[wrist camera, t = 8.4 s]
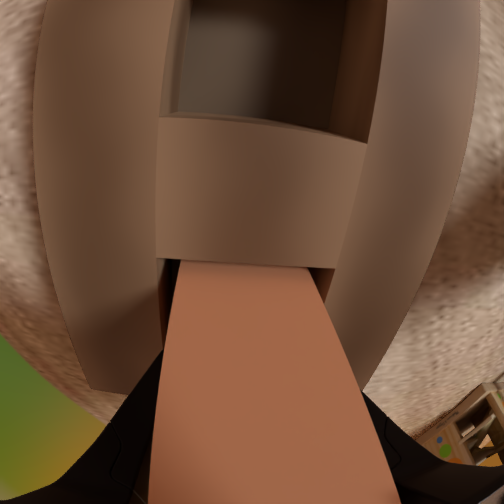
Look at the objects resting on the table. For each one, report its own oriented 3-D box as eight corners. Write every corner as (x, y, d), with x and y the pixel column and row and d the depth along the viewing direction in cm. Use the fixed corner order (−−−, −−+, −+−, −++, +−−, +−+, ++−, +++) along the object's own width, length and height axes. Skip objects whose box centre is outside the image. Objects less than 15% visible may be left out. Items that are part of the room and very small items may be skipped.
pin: (303, 259, 11) (412, 539, 3) (281, 342, 13) (329, 557, 5) (182, 251, 11) (147, 576, 2) (183, 339, 13) (174, 569, 4)
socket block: (423, 1, 8) (478, -12, 5) (339, 344, 18) (360, 394, 14) (112, -49, 6) (79, -86, 3) (108, 334, 16) (90, 388, 12)
